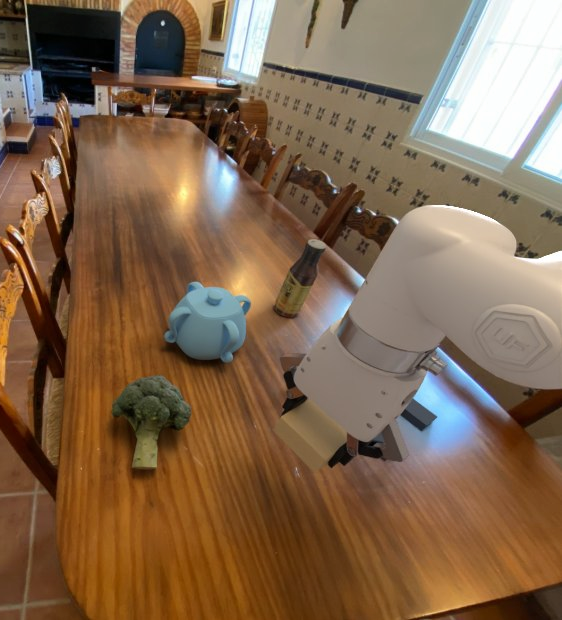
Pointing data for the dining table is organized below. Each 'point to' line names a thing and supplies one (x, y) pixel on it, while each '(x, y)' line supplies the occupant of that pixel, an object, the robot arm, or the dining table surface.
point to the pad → (311, 434)
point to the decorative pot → (209, 323)
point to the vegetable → (151, 414)
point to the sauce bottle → (299, 280)
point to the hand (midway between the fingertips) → (311, 436)
